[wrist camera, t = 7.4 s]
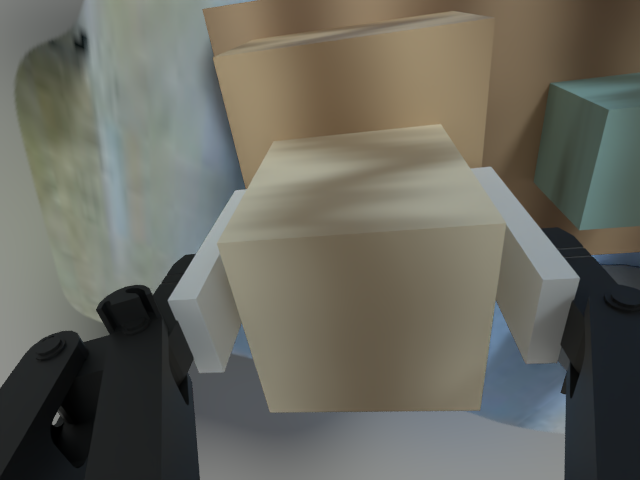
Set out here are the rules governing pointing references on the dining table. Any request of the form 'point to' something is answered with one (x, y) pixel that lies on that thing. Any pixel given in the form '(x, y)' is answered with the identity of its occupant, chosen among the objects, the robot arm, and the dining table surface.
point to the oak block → (366, 273)
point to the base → (510, 73)
